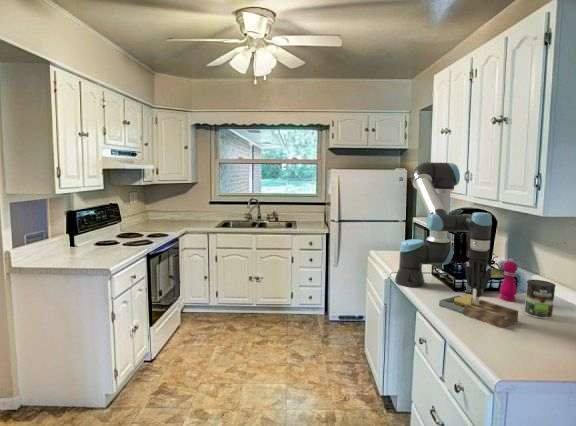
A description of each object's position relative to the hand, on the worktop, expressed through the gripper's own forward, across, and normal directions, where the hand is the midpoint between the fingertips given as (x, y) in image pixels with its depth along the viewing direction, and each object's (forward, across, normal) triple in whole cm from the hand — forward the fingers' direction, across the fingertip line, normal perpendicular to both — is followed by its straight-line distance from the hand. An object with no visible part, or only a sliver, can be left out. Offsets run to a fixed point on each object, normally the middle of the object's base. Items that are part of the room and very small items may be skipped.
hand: (475, 303), depth 173 cm
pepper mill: (+5, -3, +32) cm, 32 cm away
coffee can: (+5, +15, +23) cm, 28 cm away
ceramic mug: (+5, -18, +28) cm, 33 cm away
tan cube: (+2, -5, 0) cm, 5 cm away
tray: (+4, -8, +2) cm, 9 cm away
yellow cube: (+1, -3, 0) cm, 3 cm away
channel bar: (+4, +7, 0) cm, 8 cm away
